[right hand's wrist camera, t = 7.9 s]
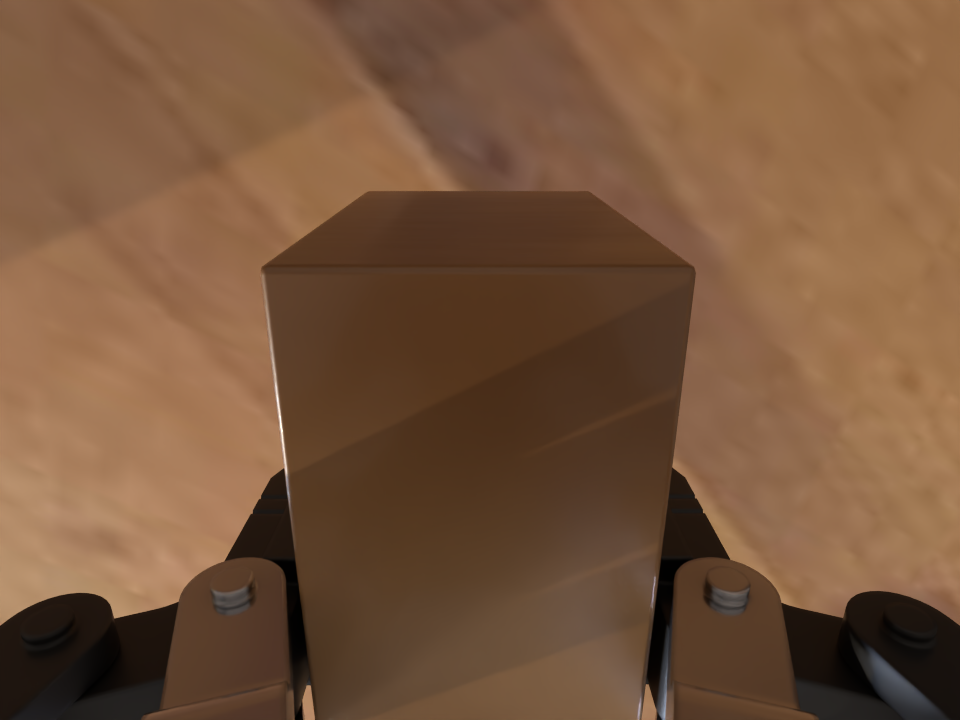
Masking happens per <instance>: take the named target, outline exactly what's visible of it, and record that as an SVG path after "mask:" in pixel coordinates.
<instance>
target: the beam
mask: <svg viewBox="0 0 960 720" xmlns="http://www.w3.org/2000/svg"><path fill="white" fill-rule="evenodd" d="M695 276H696V272H695V269H694V267H693V266H692V265H691V264H689V263H688V262H686V261H685V260H684V259H682V258H681V257H679V256H678V255H677V254H675V253H674V252H673V251H671V250H670V249H668V248H667V247H666V246H664V245H663V244H661V243H660V242H659V241H657V240H656V239H654V238H653V237H652V236H650V235H649V234H648V233H646V232H645V231H643V230H642V229H641V228H639V227H638V226H636V225H635V224H634V223H632V222H631V221H629V220H628V219H627V218H625V217H624V216H623V215H621V214H620V213H618V212H617V211H616V210H614V209H613V208H611V207H610V206H609V205H607V204H606V203H604V202H603V201H602V200H600V199H599V198H598V197H596V196H595V195H593V194H592V193H590V192H588V191H369V192H366V193H365V194H363V195H362V196H361V197H359V198H358V199H356V200H355V201H354V202H352V203H351V204H349V205H348V206H347V207H345V208H344V209H342V210H341V211H340V212H338V213H337V214H335V215H334V216H333V217H331V218H330V219H328V220H327V221H326V222H324V223H323V224H321V225H320V226H319V227H317V228H316V229H314V230H313V231H312V232H310V233H309V234H307V235H306V236H304V237H303V238H302V239H300V240H299V241H297V242H296V243H295V244H293V245H292V246H290V247H289V248H288V249H286V250H285V251H283V252H282V253H281V254H279V255H278V256H276V257H275V258H274V259H272V260H271V261H269V262H268V263H267V264H265V265H264V266H262V268H261V272H260V277H261V285H262V293H263V301H264V309H265V317H266V326H267V334H268V342H269V350H270V358H271V366H272V374H273V382H274V390H275V398H276V406H277V415H278V423H279V431H280V439H281V447H282V455H283V463H284V471H285V479H286V487H287V496H288V504H289V512H290V520H291V528H292V536H293V544H294V552H295V560H296V568H297V577H298V585H299V593H300V601H301V609H302V617H303V625H304V633H305V641H306V649H307V658H308V666H309V674H310V682H311V690H312V698H313V706H314V714H315V720H641V718H642V710H643V702H644V694H645V686H646V677H647V669H648V661H649V653H650V645H651V636H652V628H653V620H654V612H655V604H656V595H657V587H658V579H659V571H660V563H661V554H662V546H663V538H664V530H665V522H666V514H667V505H668V497H669V489H670V481H671V473H672V464H673V456H674V448H675V440H676V432H677V423H678V415H679V407H680V399H681V391H682V383H683V374H684V366H685V358H686V350H687V342H688V333H689V325H690V317H691V309H692V301H693V292H694V284H695Z"/></svg>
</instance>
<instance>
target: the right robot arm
mask: <svg viewBox="0 0 960 720" xmlns="http://www.w3.org/2000/svg"><path fill="white" fill-rule="evenodd" d="M646 684H649V687H650V690H651V694H652V697H653V700H654V704H655V707H656V709H657V710H656V717H655V720H960V626H959V625H958V624H957V623H955V622H954V621H953V620H951V619H950V618H949V617H947V616H946V615H944V614H943V613H941V612H940V611H938V610H937V609H935V608H933V607H931V606H929V605H927V604H925V603H923V602H921V601H919V600H916V599H913V598H911V597H908V596H904V595H901V594H896V593H891V592H883V591H869V592H863V593H860V594H857V595H855V596H854V597H852V598H851V599H850V600H849V602H848V603H847V606H846V609H845V613H844V617H843V618H840V617H835V616H831V615H827V614H822V613H818V612H813V611H809V610H804V609H800V608H796V607H792V606H789V605H786V604H783V603H781V599H780V596H779V593H778V592H777V590H776V588H775V587H774V586H773V584H772V583H771V582H770V581H769V580H768V579H767V578H766V577H764V576H763V575H762V574H760V573H759V572H757V571H756V570H754V569H752V568H750V567H748V566H746V565H744V564H741V563H738V562H735V561H732V560H730V558H729V556H728V555H727V553H726V551H725V549H724V547H723V545H722V544H721V542H720V540H719V538H718V536H717V535H716V533H715V531H714V529H713V527H712V525H711V524H710V522H709V520H708V518H707V516H706V515H705V513H703V509H702V507H701V505H700V504H699V502H698V500H697V499H695V495H694V493H693V491H692V489H691V487H690V486H689V484H688V482H687V480H686V478H685V477H684V476H682V475H681V474H680V473H679V472H677V471H676V470H675V469H673V468H672V473H671V481H670V489H669V497H668V505H667V514H666V522H665V530H664V538H663V546H662V554H661V563H660V571H659V579H658V587H657V595H656V604H655V612H654V620H653V628H652V636H651V645H650V653H649V661H648V669H647V677H646ZM307 685H311V682H310V674H309V666H308V658H307V649H306V641H305V633H304V625H303V617H302V609H301V601H300V593H299V585H298V577H297V568H296V560H295V552H294V544H293V536H292V528H291V520H290V512H289V504H288V496H287V487H286V479H285V471H284V469H282V470H281V471H280V472H278V473H277V474H276V475H274V476H273V477H272V478H271V479H270V481H269V483H268V484H267V486H266V488H265V490H264V492H263V493H262V495H261V499H259V500H258V502H257V504H256V506H255V508H254V509H253V514H251V515H250V517H249V518H248V520H247V522H246V524H245V526H244V527H243V529H242V531H241V533H240V534H239V536H238V538H237V540H236V542H235V543H234V545H233V547H232V549H231V551H230V552H229V554H228V556H227V558H226V559H225V561H224V562H221V563H218V564H216V565H214V566H212V567H210V568H208V569H206V570H204V571H203V572H201V573H200V574H198V575H197V576H196V577H194V578H193V579H192V580H191V581H190V582H189V583H188V584H187V586H186V587H185V588H184V590H183V592H182V593H181V596H180V599H179V602H177V603H174V604H172V605H169V606H166V607H162V608H159V609H155V610H150V611H146V612H142V613H137V614H133V615H128V616H124V617H120V618H115V619H114V616H113V613H112V609H111V606H110V604H109V603H108V602H107V600H105V599H104V598H102V597H101V596H98V595H95V594H89V593H73V594H66V595H61V596H57V597H53V598H50V599H47V600H44V601H41V602H39V603H36V604H34V605H32V606H30V607H28V608H26V609H24V610H23V611H21V612H19V613H17V614H16V615H14V616H13V617H11V618H10V619H9V620H7V621H6V622H5V623H3V624H2V625H1V626H0V720H305V718H304V710H303V703H302V699H303V696H304V692H305V689H306V686H307Z"/></svg>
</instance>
